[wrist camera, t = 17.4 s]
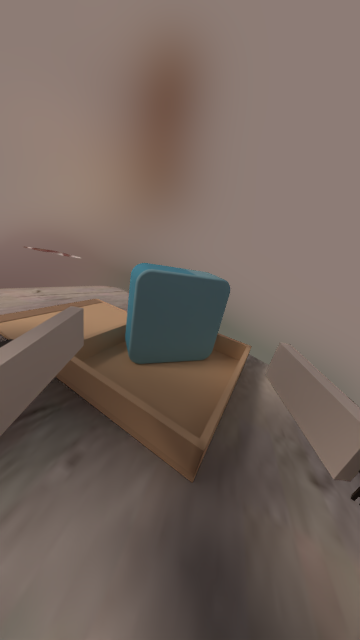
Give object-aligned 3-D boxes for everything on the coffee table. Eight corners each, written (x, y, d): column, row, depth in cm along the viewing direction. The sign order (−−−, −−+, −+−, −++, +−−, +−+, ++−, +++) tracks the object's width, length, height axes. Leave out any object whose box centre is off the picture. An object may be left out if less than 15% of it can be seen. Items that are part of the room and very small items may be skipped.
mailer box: (-16, 321, 27) (-21, 298, 26) (97, 300, 43) (97, 285, 42) (192, 482, 14) (204, 451, 12) (244, 365, 30) (251, 346, 29)
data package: (197, 344, 32) (216, 273, 27) (210, 360, 28) (234, 280, 23) (123, 346, 27) (131, 260, 23) (127, 365, 23) (137, 267, 19)
